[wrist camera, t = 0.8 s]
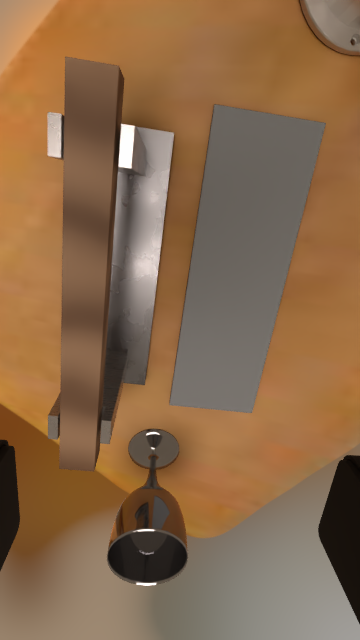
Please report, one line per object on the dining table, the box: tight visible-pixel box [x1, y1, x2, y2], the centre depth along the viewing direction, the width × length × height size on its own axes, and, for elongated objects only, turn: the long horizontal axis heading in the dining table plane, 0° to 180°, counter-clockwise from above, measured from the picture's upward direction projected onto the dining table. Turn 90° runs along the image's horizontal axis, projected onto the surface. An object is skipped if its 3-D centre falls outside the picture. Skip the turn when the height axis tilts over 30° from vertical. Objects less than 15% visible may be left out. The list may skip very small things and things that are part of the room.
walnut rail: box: [60, 57, 124, 471], centre depth 25 cm, size 30×3×2 cm, turn 172°
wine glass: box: [107, 429, 188, 585], centre depth 40 cm, size 8×8×15 cm
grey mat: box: [170, 104, 326, 413], centre depth 39 cm, size 34×11×1 cm, turn 172°
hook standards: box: [48, 112, 174, 444], centre depth 31 cm, size 28×10×14 cm, turn 172°
